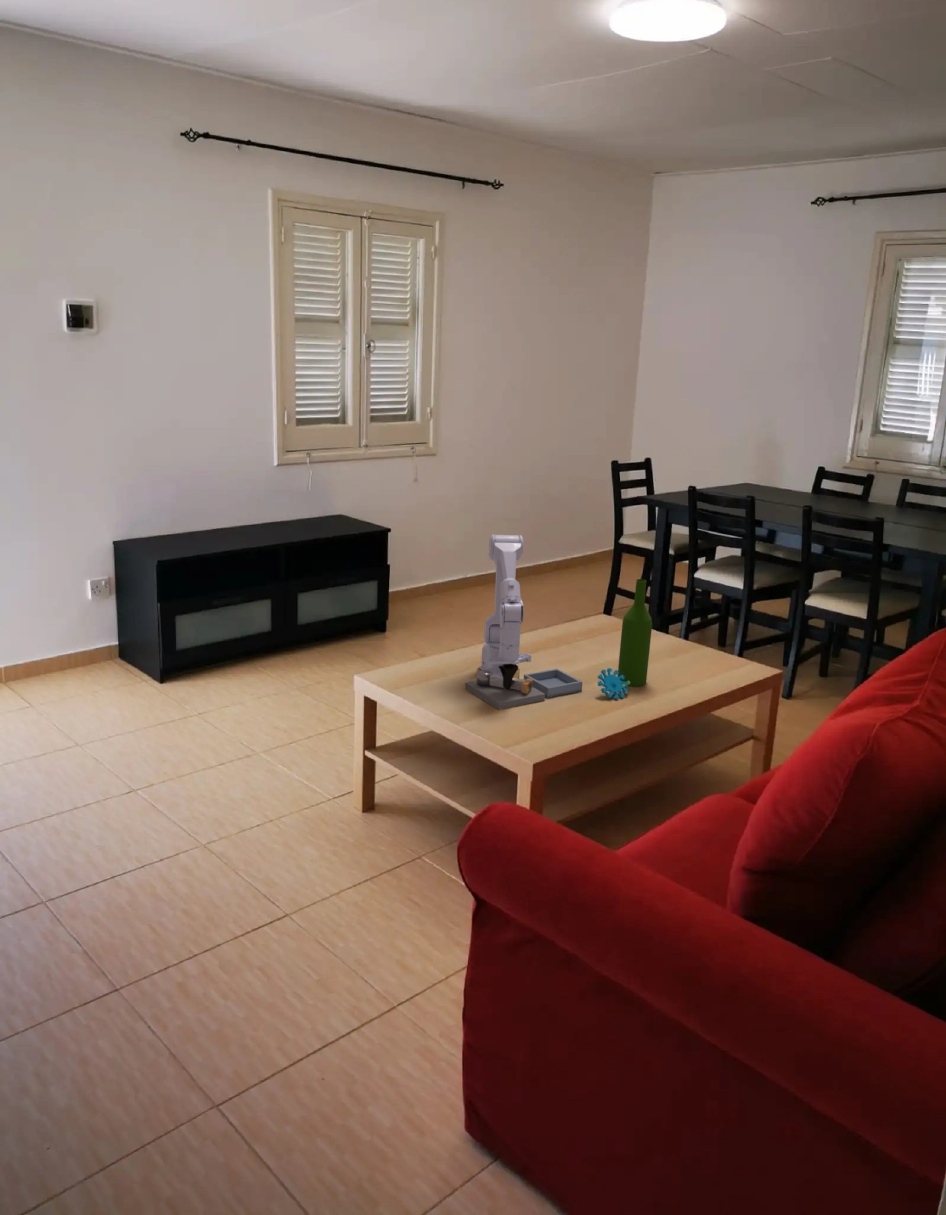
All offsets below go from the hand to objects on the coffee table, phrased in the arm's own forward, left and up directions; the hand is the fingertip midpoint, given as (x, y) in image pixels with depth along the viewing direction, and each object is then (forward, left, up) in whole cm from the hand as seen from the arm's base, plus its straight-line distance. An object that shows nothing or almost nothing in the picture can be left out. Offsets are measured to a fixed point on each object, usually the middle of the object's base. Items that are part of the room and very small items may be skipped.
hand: (507, 687), depth 273 cm
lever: (-3, +1, -1) cm, 3 cm away
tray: (-1, +17, -3) cm, 18 cm away
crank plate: (-3, +1, -3) cm, 4 cm away
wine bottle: (+5, +43, -3) cm, 44 cm away
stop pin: (-5, +5, -3) cm, 8 cm away
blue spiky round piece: (+12, +30, -4) cm, 33 cm away
